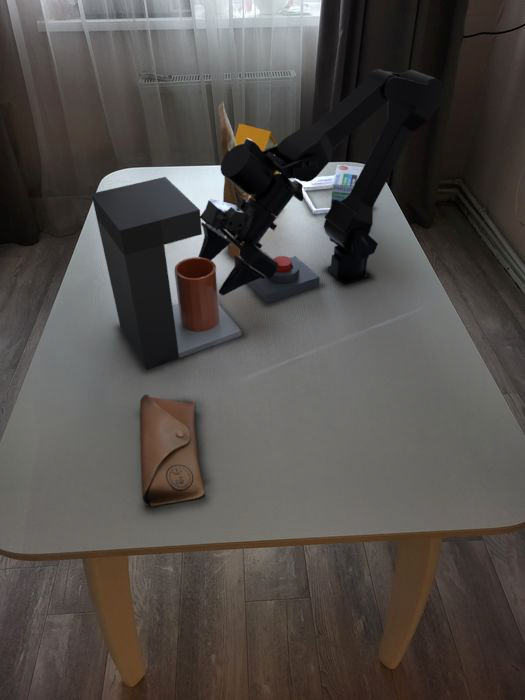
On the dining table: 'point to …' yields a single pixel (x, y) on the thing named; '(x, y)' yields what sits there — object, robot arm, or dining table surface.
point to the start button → (283, 263)
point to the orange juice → (255, 137)
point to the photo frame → (316, 184)
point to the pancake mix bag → (230, 189)
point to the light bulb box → (344, 181)
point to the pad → (286, 282)
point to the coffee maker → (151, 268)
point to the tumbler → (197, 293)
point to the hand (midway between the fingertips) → (208, 280)
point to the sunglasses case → (169, 452)
